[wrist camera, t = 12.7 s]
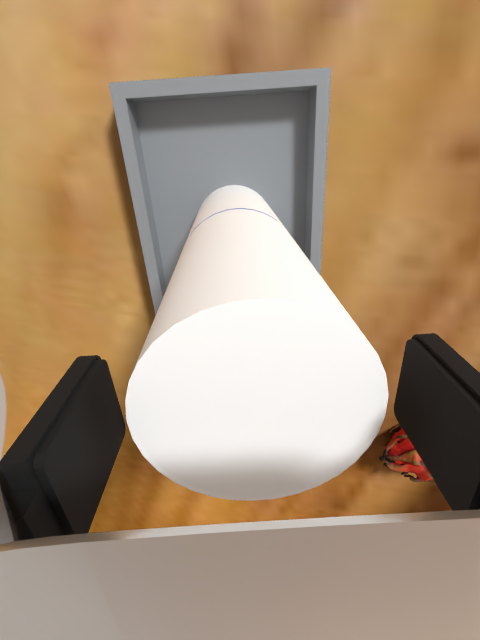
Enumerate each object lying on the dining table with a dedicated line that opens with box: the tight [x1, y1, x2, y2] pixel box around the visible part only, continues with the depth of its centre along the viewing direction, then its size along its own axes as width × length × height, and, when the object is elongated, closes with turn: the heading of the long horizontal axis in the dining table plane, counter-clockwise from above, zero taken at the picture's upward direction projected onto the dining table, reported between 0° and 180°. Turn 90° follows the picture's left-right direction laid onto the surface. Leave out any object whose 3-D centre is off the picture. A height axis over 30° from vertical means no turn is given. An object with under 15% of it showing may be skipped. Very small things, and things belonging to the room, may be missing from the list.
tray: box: [109, 68, 331, 316], centre depth 31 cm, size 16×22×4 cm
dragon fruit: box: [379, 424, 434, 482], centre depth 43 cm, size 8×8×12 cm
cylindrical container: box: [125, 185, 388, 501], centre depth 20 cm, size 7×7×25 cm
